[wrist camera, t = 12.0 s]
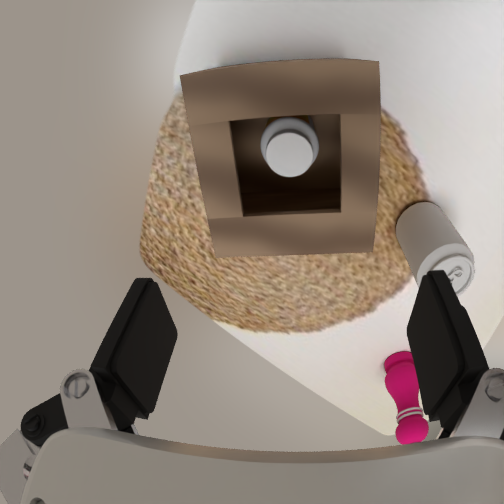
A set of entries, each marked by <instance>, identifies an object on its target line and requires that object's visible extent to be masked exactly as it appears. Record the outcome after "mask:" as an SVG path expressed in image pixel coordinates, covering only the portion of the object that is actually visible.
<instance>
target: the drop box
mask: <svg viewBox="0 0 504 504" xmlns="http://www.w3.org/2000/svg"><path fill="white" fill-rule="evenodd" d="M180 79H181V85H182V91H183V97H184V102H185V108H186V113H187V119H188V124H189V130H190V135H191V140H192V145H193V151H194V156H195V161H196V166H197V171H198V176H199V181H200V186H201V191H202V195H203V200H204V205H205V210H206V215H207V219H208V224H209V228H210V233H211V238H212V242H213V247H214V251H215V256H216V258H223V257H252V256H280V255H308V254H335V253H362V252H373V246H374V237H375V227H376V216H377V203H378V189H379V170H380V137H381V105H380V73H379V61H370V60H359V59H295V60H279V61H267V62H256V63H247V64H239V65H231V66H224V67H217V68H212V69H207V70H202V71H198V72H193V73H189V74H185V75H181V76H180ZM295 115H309V116H310V117H311V119H312V121H313V123H314V126H315V129H316V133H317V136H318V140H319V151H318V155H317V157H316V159H315V161H314V162H313V163H312V165H311V166H310V167H309V168H308V170H307V171H306V172H304V173H303V174H301V175H299V176H295V177H285V176H281V175H279V174H277V173H275V172H274V171H273V170H272V169H271V168H270V167H269V165H268V163H267V162H266V161H265V159H264V157H263V155H262V153H261V147H260V143H261V137H262V134H263V131H264V129H265V126H266V123H267V121H268V119H269V117H278V116H295Z"/></svg>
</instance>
